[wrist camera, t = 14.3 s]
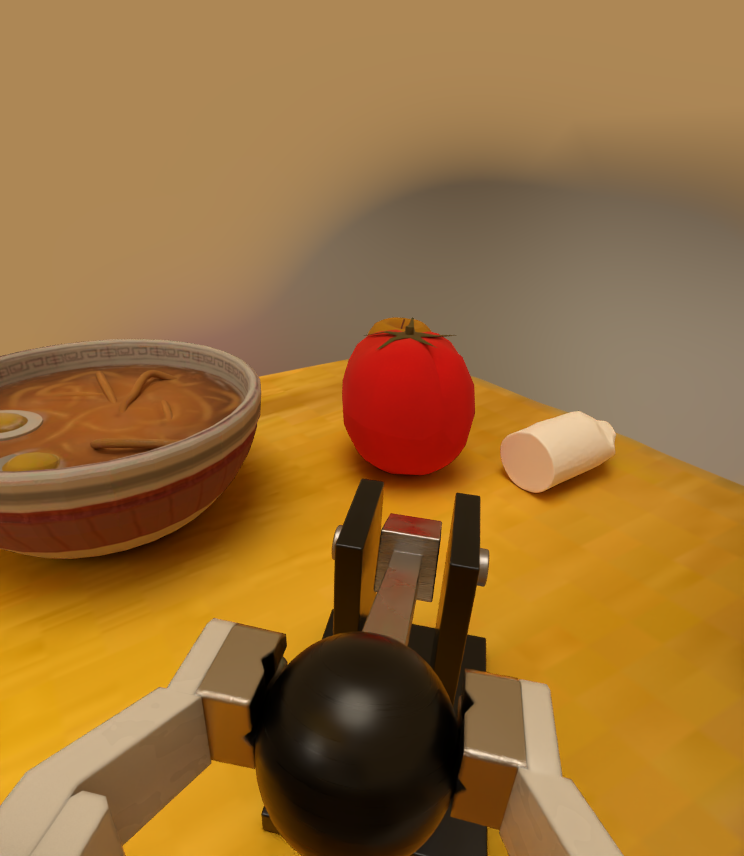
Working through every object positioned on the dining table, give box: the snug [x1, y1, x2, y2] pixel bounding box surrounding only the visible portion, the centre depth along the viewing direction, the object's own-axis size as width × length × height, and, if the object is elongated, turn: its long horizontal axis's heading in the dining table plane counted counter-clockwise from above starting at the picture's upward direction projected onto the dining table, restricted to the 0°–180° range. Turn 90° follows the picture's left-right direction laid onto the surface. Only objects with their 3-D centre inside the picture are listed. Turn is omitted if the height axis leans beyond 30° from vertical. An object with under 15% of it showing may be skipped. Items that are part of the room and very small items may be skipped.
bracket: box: [262, 479, 489, 856], centre depth 22 cm, size 11×9×13 cm
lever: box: [255, 513, 459, 856], centre depth 14 cm, size 14×4×4 cm, turn 170°
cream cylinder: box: [500, 411, 616, 493], centre depth 46 cm, size 6×12×6 cm, turn 124°
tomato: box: [342, 318, 475, 475], centre depth 44 cm, size 12×12×13 cm
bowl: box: [0, 339, 261, 559], centre depth 37 cm, size 23×23×10 cm
